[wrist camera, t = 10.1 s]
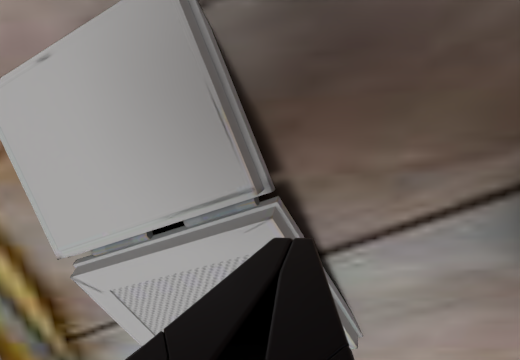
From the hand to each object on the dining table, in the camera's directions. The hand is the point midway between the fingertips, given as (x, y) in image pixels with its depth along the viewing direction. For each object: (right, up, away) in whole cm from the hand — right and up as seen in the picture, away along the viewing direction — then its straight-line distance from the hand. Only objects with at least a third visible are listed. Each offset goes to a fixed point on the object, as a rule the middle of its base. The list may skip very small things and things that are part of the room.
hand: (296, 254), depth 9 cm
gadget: (-6, 0, +18) cm, 19 cm away
